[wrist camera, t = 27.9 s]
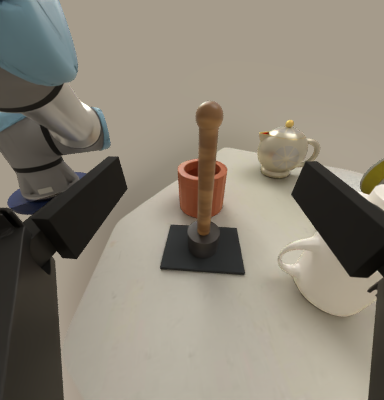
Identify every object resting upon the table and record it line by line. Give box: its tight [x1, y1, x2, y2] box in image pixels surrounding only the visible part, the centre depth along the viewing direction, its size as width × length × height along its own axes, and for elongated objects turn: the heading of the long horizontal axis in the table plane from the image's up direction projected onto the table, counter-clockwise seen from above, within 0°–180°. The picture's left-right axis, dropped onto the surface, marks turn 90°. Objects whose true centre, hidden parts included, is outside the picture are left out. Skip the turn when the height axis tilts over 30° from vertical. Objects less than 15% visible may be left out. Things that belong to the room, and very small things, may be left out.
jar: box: [178, 159, 227, 218], centre depth 39 cm, size 11×11×10 cm
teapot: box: [257, 120, 320, 178], centre depth 50 cm, size 18×14×16 cm
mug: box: [278, 231, 383, 316], centre depth 23 cm, size 9×12×11 cm
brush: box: [187, 101, 223, 259], centre depth 24 cm, size 6×6×24 cm
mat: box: [160, 225, 245, 275], centre depth 31 cm, size 14×10×1 cm
